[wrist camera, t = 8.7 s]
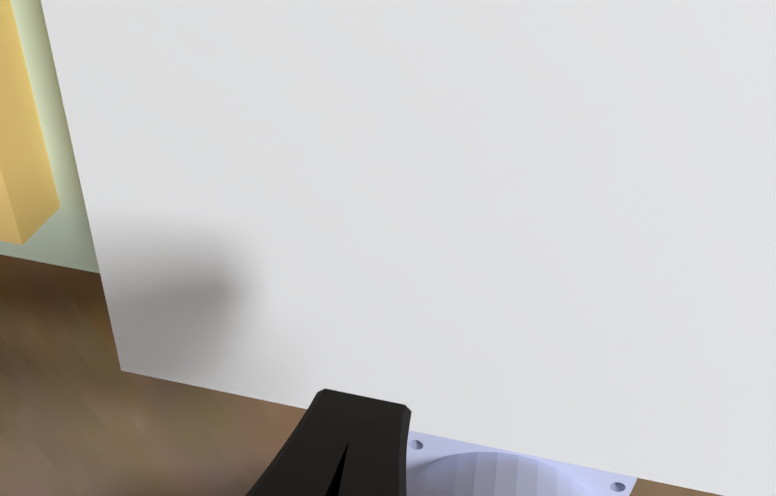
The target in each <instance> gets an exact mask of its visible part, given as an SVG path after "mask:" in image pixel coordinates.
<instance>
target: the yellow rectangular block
mask: <svg viewBox="0 0 776 496" xmlns="http://www.w3.org/2000/svg"><path fill="white" fill-rule="evenodd" d="M59 208H60V203H59V199H58V195H57V191H56V187H55V183H54V179H53V174H52V170H51V166H50V162H49V158H48V154H47V150H46V145H45V141H44V137H43V133H42V129H41V125H40V121H39V116H38V112H37V108H36V104H35V100H34V96H33V92H32V87H31V83H30V79H29V75H28V71H27V67H26V63H25V58H24V54H23V50H22V46H21V42H20V38H19V33H18V29H17V25H16V21H15V17H14V13H13V9H12V4H11V0H0V241H4V242H9V243H14V244H20V245H23V244H24V243H25V242H26V241H27V240H28V239H29V238H30V237H31V236H32V235H33V234H34V233H35V232H36V231H37V230H38V229H39V228H40V227H41V226H42V225H43V224H44V223H45V222H46V221H47V220H48V219H49V218H50V217H51V216H52V215H53V214H54V213H55V212H56V211H57V210H58V209H59Z"/></svg>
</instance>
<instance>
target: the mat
mask: <svg viewBox="0 0 776 496" xmlns="http://www.w3.org/2000/svg"><path fill="white" fill-rule="evenodd" d="M11 4H12V9H13V13H14V17H15V21H16V25H17V29H18V33H19V38H20V42H21V46H22V50H23V54H24V58H25V63H26V67H27V71H28V75H29V79H30V83H31V87H32V92H33V96H34V100H35V104H36V108H37V112H38V116H39V121H40V125H41V129H42V133H43V137H44V141H45V145H46V150H47V154H48V158H49V162H50V166H51V170H52V174H53V179H54V183H55V187H56V191H57V195H58V199H59V203H60V208H59V209H58V210H57V211H56V212H55V213H54V214H53V215H52V216H51V217H50V218H49V219H48V220H47V221H46V222H45V223H44V224H43V225H42V226H41V227H40V228H39V229H38V230H37V231H36V232H35V233H34V234H33V235H32V236H31V237H30V238H29V239H28V240H27V241H26V242H25V243H24V244H23V245H20V244H14V243H9V242H4V241H0V254H1V255H7V256H12V257H17V258H22V259H27V260H32V261H38V262H43V263H48V264H53V265H58V266H64V267H69V268H74V269H79V270H84V271H89V272H95V273H100V271H99V266H98V261H97V257H96V252H95V248H94V243H93V238H92V234H91V229H90V225H89V220H88V215H87V211H86V206H85V202H84V197H83V192H82V188H81V183H80V179H79V174H78V169H77V165H76V160H75V156H74V151H73V146H72V142H71V137H70V133H69V128H68V123H67V119H66V114H65V110H64V105H63V100H62V96H61V91H60V87H59V82H58V77H57V73H56V68H55V63H54V59H53V54H52V50H51V45H50V40H49V36H48V31H47V27H46V22H45V17H44V13H43V8H42V4H41V0H11Z"/></svg>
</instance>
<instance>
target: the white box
mask: <svg viewBox="0 0 776 496" xmlns="http://www.w3.org/2000/svg"><path fill="white" fill-rule="evenodd" d="M41 4H42V8H43V13H44V17H45V22H46V27H47V31H48V36H49V40H50V45H51V50H52V54H53V59H54V63H55V68H56V73H57V77H58V82H59V87H60V91H61V96H62V100H63V105H64V110H65V114H66V119H67V123H68V128H69V133H70V137H71V142H72V146H73V151H74V156H75V160H76V165H77V169H78V174H79V179H80V183H81V188H82V192H83V197H84V202H85V206H86V211H87V215H88V220H89V225H90V229H91V234H92V238H93V243H94V248H95V252H96V257H97V261H98V266H99V271H100V275H101V280H102V284H103V289H104V294H105V298H106V303H107V307H108V312H109V317H110V321H111V326H112V330H113V335H114V340H115V344H116V349H117V353H118V358H119V363H120V367H121V371H126V372H131V373H136V374H141V375H145V376H150V377H155V378H160V379H165V380H169V381H174V382H179V383H184V384H189V385H194V386H198V387H203V388H208V389H213V390H218V391H223V392H227V393H232V394H237V395H242V396H247V397H251V398H256V399H261V400H266V401H271V402H276V403H280V404H285V405H290V406H295V407H300V408H304V409H308V408H309V406H310V404H311V402H312V401H313V399H314V397H315V395H316V393H317V392H318V391H320V390H323V389H325V388H326V389H331V390H335V391H340V392H345V393H350V394H355V395H360V396H365V397H370V398H375V399H380V400H385V401H389V402H394V403H399V404H404V405H406V406H407V407H408V408H409V409H410V410H411V411H412V413H411V419H410V426H409V430H410V431H415V432H420V433H425V434H430V435H435V436H439V437H444V438H449V439H454V440H459V441H463V442H468V443H473V444H478V445H483V446H488V447H492V448H497V449H502V450H507V451H512V452H517V453H521V454H526V455H531V456H536V457H541V458H545V459H550V460H555V461H560V462H565V463H570V464H574V465H579V466H584V467H589V468H594V469H598V470H603V471H608V472H613V473H618V474H623V475H627V476H632V477H637V478H642V479H647V480H651V481H656V482H661V483H666V484H671V485H676V486H680V487H685V488H690V489H695V490H700V491H704V492H709V493H714V494H719V495H724V496H776V0H41Z"/></svg>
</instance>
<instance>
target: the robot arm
mask: <svg viewBox="0 0 776 496" xmlns="http://www.w3.org/2000/svg"><path fill="white" fill-rule="evenodd" d="M411 413H412V411H411V410H410V409H409V408H408V407H407V406H406V405H404V404H399V403H394V402H389V401H385V400H380V399H375V398H370V397H365V396H360V395H355V394H350V393H345V392H340V391H335V390H331V389H326V388H325V389H323V390H320V391H318V392H317V393H316V395H315V397H314V399H313V401H312V402H311V404H310V406H309V408H308V409H307V411H306V412H305V414H304V416H303V417H302V419H301V420H300V422H299V423H298V425H297V427H296V428H295V430H294V431H293V433H292V434H291V435H290V437H289V438H288V440H287V441H286V443H285V444H284V446H283V447H282V448H281V450H280V451H279V453H278V454H277V455H276V457H275V458H274V460H273V461H272V462H271V464H270V465H269V466H268V468H267V469H266V470H265V472H264V473H263V474H262V475H261V477H260V478H259V479H258V481H257V482H256V483H255V484H254V486H253V487H252V488H251V490H250V491H249V492H248V493H247V495H246V496H629V495H630V493H631V491H632V489H633V487H634V485H635V482H636V480H637V477H632V476H627V475H623V474H618V473H613V472H608V471H603V470H598V469H594V468H589V467H584V466H579V465H574V464H570V463H565V462H560V461H555V460H550V459H545V458H541V457H536V456H531V455H526V454H521V453H517V452H512V451H507V450H502V449H497V448H492V447H488V446H483V445H478V444H473V443H468V442H463V441H459V440H454V439H449V438H444V437H439V436H435V435H430V434H425V433H420V432H415V431H410V430H409V426H410V419H411ZM417 440H418V441H417Z"/></svg>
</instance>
